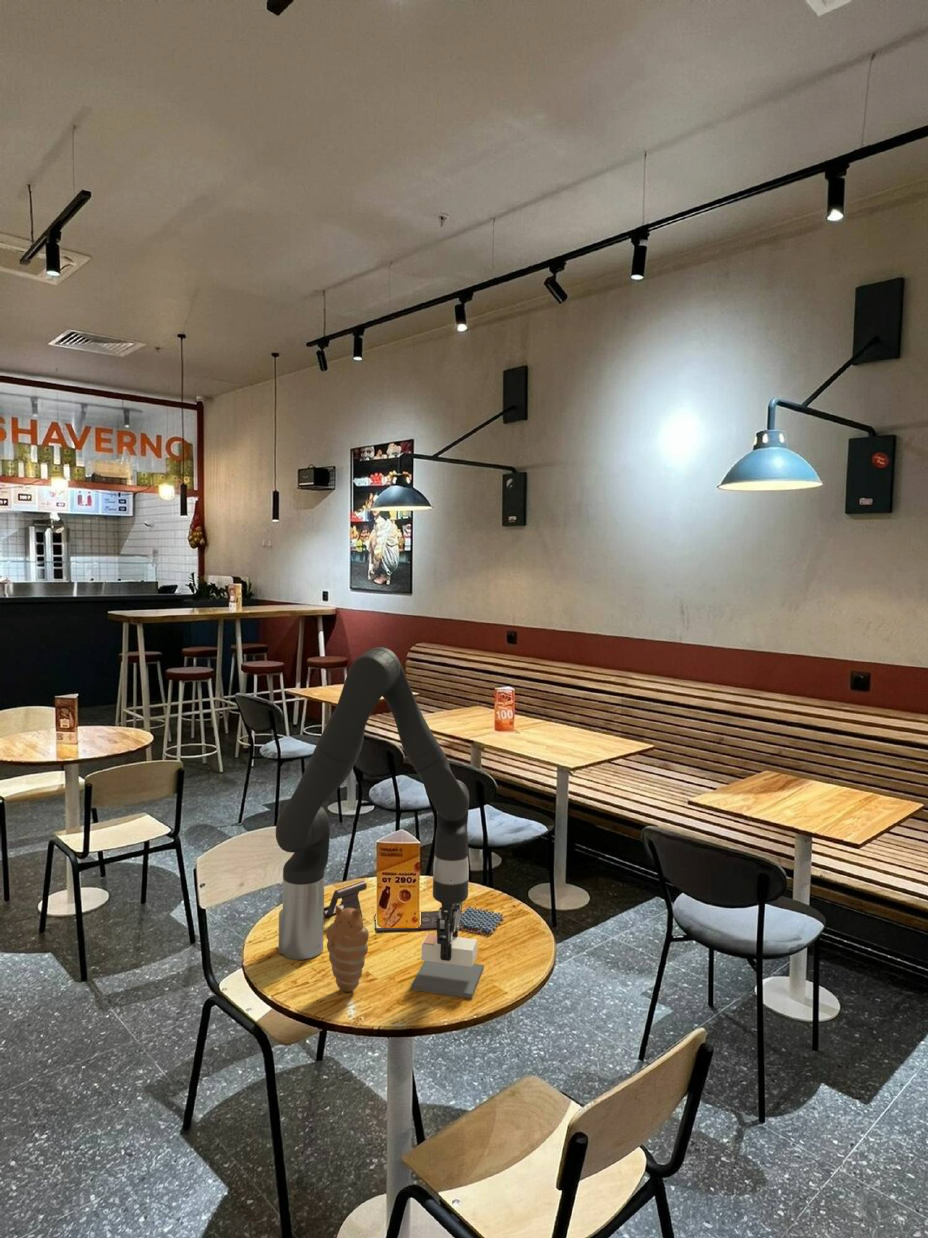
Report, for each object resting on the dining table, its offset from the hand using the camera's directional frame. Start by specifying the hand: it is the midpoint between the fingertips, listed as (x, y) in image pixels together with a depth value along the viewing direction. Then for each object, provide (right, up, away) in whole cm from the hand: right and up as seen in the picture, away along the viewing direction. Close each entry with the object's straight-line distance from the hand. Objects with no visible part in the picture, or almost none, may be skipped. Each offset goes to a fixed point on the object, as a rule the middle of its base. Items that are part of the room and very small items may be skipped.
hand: (449, 953), depth 164 cm
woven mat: (+7, -5, +27) cm, 28 cm away
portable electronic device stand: (-27, -4, +29) cm, 40 cm away
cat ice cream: (-21, -6, -5) cm, 22 cm away
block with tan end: (0, -1, 0) cm, 1 cm away
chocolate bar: (-10, -4, +26) cm, 29 cm away
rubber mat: (0, -6, +1) cm, 6 cm away
